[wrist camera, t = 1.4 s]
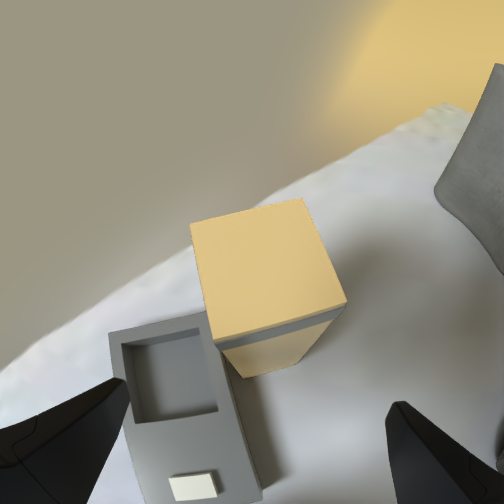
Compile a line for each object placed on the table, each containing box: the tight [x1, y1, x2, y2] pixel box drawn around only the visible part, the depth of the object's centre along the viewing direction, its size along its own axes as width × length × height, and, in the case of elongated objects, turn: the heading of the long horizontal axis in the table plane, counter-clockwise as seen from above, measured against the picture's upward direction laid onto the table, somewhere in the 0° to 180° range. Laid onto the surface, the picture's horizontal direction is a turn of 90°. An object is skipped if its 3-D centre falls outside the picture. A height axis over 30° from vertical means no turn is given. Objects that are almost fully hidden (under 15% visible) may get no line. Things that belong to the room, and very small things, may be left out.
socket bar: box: [108, 311, 262, 504], centre depth 17 cm, size 14×8×3 cm, turn 15°
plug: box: [190, 198, 347, 379], centre depth 15 cm, size 4×4×14 cm
